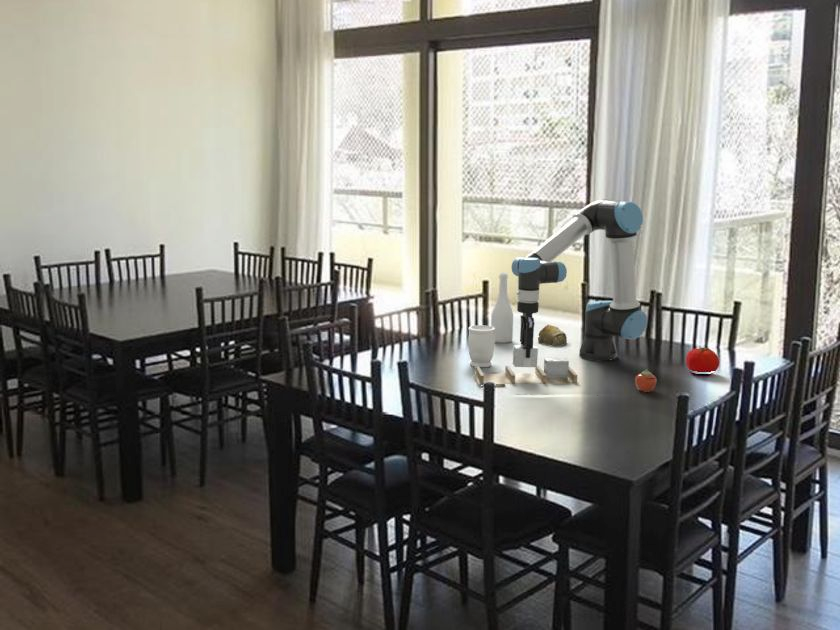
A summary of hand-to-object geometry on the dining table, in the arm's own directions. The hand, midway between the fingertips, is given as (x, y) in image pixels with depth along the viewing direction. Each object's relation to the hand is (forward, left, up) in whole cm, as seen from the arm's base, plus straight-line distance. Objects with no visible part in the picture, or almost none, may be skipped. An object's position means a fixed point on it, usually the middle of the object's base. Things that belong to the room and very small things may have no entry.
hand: (525, 364), depth 317 cm
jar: (+13, -24, -6) cm, 28 cm away
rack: (0, 0, -6) cm, 6 cm away
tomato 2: (-69, -9, -7) cm, 70 cm away
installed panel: (-11, 0, -5) cm, 13 cm away
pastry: (-24, -63, -7) cm, 68 cm away
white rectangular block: (0, 0, 0) cm, 0 cm away
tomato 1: (-40, +14, -6) cm, 43 cm away
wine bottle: (-2, -67, -6) cm, 67 cm away
